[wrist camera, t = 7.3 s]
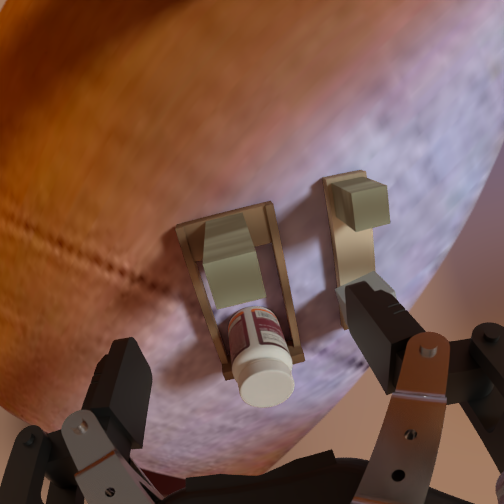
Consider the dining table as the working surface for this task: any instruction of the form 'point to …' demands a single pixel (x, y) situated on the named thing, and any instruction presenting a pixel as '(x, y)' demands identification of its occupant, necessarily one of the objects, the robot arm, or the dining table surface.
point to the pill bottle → (260, 357)
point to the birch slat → (354, 223)
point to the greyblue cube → (371, 279)
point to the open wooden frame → (235, 266)
